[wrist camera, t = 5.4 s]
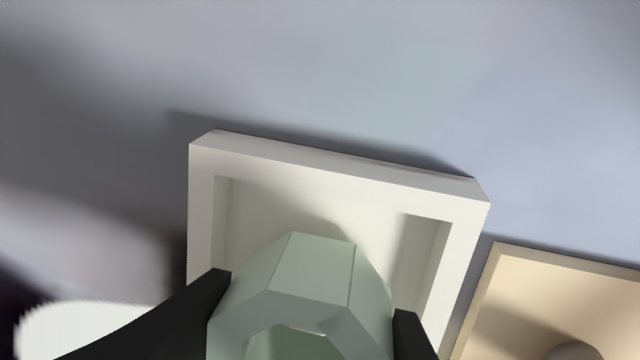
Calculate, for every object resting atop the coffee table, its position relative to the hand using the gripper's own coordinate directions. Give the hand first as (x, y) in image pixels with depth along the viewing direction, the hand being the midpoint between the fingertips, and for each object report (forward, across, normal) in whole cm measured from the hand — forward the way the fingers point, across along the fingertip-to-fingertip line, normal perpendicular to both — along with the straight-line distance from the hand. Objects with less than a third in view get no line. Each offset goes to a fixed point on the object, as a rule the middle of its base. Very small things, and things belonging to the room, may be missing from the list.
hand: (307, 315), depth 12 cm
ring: (+1, 0, 0) cm, 1 cm away
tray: (+2, 0, 0) cm, 3 cm away
